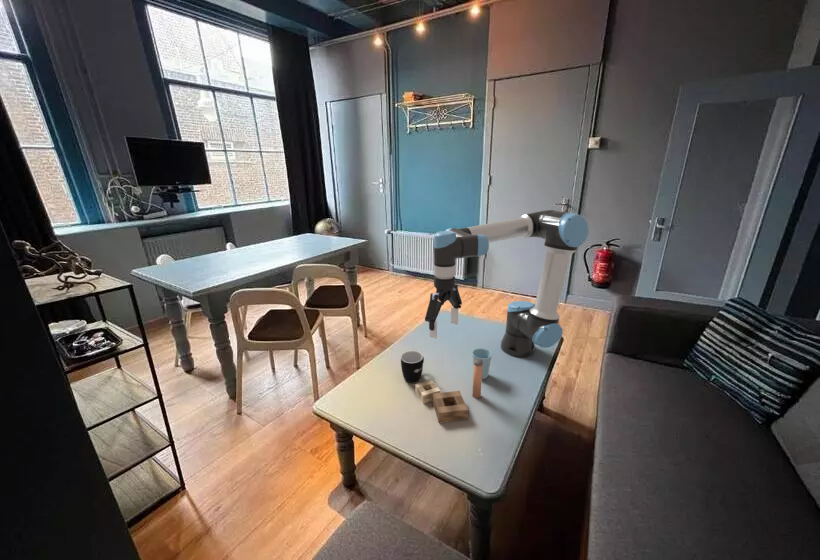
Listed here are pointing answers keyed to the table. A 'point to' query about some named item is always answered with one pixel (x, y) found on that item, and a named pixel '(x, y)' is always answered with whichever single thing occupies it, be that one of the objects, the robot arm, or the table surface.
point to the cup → (485, 357)
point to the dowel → (477, 378)
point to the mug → (412, 366)
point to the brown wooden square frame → (450, 406)
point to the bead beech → (426, 391)
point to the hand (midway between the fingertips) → (444, 330)
